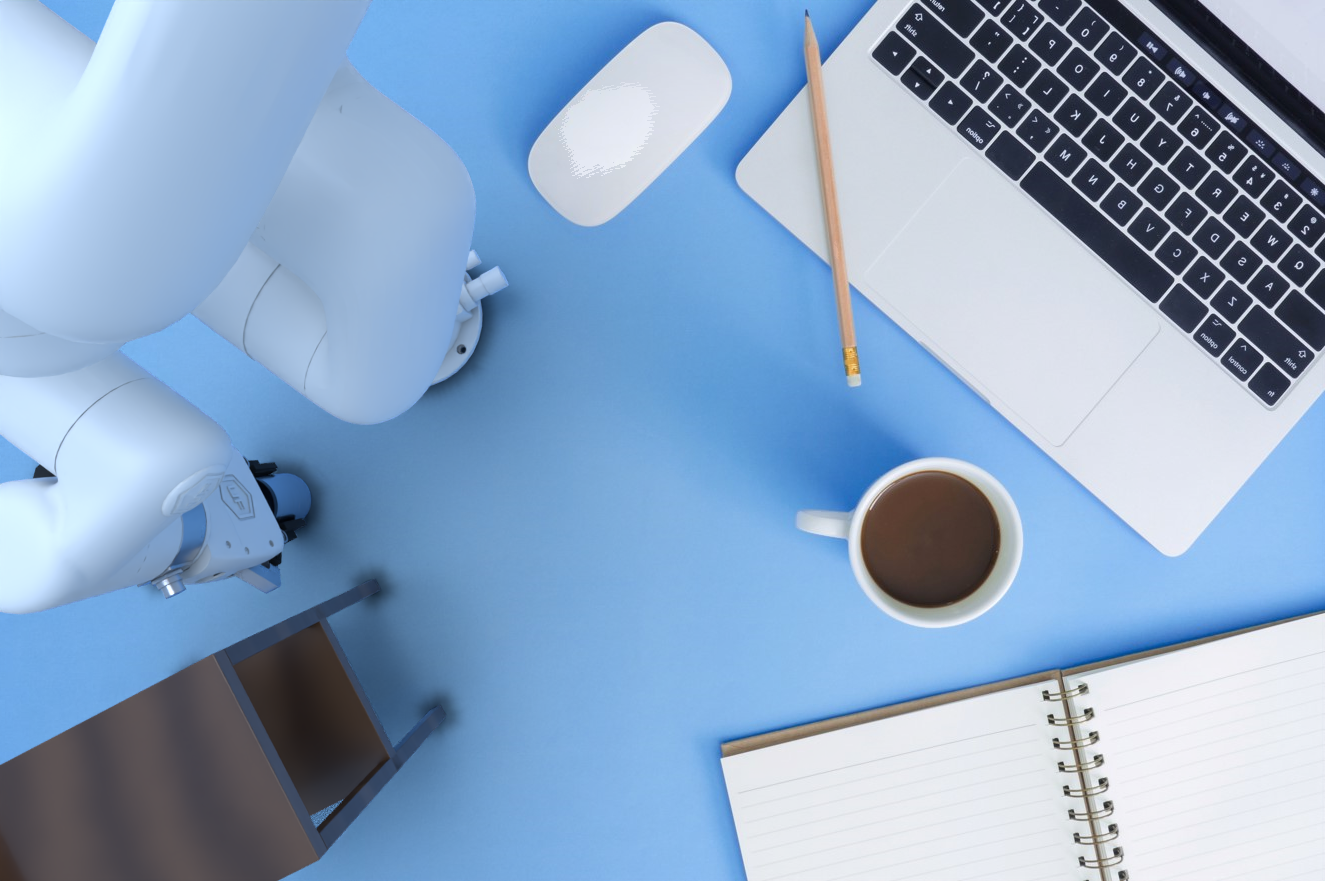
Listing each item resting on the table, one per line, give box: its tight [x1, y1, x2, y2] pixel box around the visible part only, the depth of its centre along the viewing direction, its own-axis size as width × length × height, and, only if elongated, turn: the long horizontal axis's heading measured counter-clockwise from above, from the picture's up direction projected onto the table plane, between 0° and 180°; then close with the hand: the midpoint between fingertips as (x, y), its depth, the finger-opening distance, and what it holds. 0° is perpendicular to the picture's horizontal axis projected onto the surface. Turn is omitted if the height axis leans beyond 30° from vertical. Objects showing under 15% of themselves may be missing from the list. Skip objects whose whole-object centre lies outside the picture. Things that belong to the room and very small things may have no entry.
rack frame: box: [223, 578, 447, 851], centre depth 67 cm, size 20×14×25 cm
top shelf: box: [0, 648, 328, 881], centre depth 53 cm, size 20×14×3 cm
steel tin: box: [254, 472, 312, 524], centre depth 76 cm, size 5×5×7 cm
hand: (275, 501), depth 77 cm, fingers closed on steel tin, 4 cm apart
